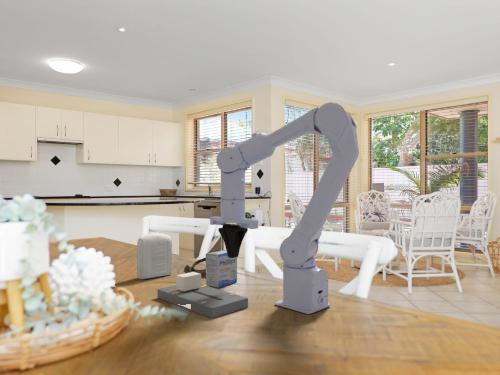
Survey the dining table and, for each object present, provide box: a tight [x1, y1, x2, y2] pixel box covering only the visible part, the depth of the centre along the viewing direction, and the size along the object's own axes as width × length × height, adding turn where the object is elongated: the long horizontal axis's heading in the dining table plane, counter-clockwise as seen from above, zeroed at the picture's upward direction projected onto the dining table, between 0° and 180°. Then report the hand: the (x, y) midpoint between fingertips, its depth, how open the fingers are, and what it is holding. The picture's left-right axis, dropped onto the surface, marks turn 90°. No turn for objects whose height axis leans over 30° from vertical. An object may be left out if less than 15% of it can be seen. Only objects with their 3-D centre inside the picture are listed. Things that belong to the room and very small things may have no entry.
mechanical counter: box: [183, 248, 222, 274], centre depth 118 cm, size 7×13×10 cm
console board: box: [156, 283, 249, 319], centre depth 89 cm, size 20×10×2 cm, turn 45°
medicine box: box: [205, 249, 238, 289], centre depth 106 cm, size 8×4×9 cm, turn 143°
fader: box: [175, 272, 202, 291], centre depth 93 cm, size 3×5×3 cm, turn 135°
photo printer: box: [136, 232, 173, 280], centre depth 114 cm, size 10×4×12 cm, turn 134°
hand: (233, 257), depth 94 cm, fingers closed
